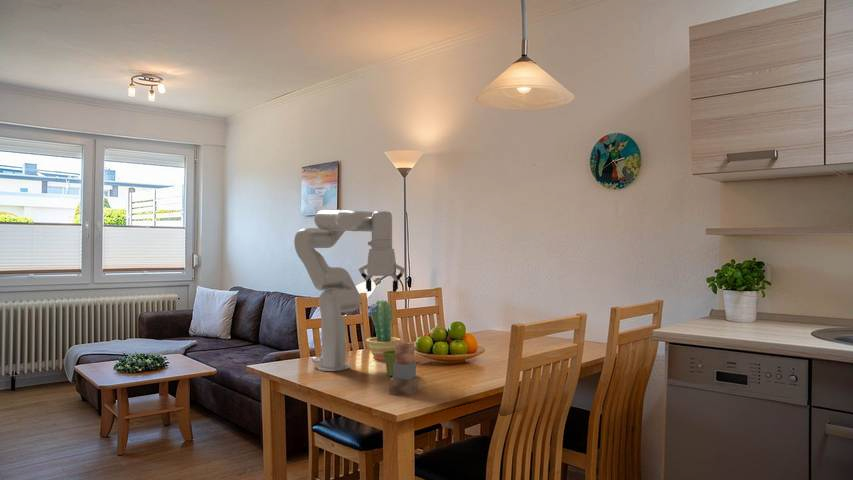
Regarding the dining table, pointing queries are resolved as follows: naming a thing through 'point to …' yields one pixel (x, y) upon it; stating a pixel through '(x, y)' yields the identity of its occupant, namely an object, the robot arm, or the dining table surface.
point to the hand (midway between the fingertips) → (381, 291)
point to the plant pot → (389, 361)
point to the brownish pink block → (404, 353)
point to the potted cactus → (381, 330)
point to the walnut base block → (403, 386)
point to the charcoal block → (404, 371)
